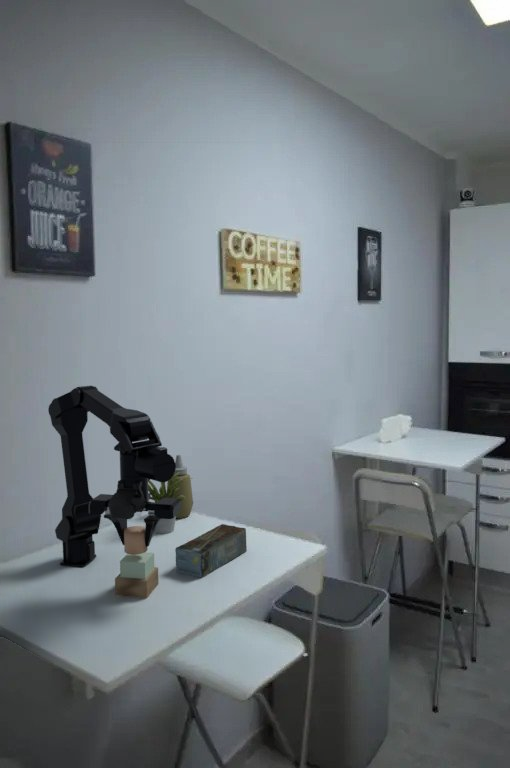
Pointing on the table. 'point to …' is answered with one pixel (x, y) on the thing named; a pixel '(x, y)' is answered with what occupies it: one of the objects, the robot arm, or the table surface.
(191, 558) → the beverage carton
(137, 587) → the base block
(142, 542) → the pink domed cylinder
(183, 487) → the squeeze bottle
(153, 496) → the house plant
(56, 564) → the table surface
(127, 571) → the top block
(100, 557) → the table surface
